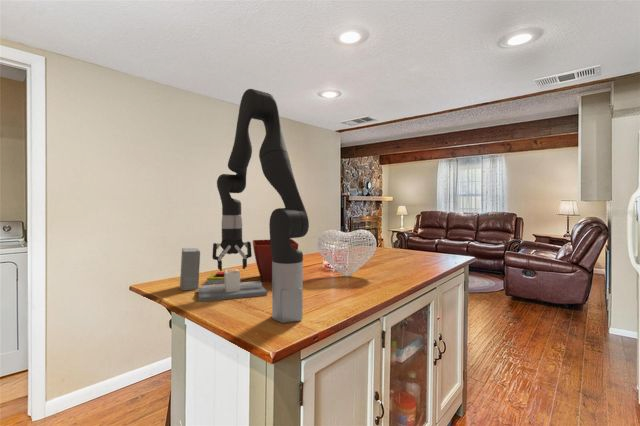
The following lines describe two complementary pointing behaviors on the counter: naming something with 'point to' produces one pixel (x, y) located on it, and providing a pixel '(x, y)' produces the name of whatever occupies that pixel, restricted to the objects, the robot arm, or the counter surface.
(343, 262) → the heart
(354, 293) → the counter surface
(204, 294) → the rail board
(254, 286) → the rail
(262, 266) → the plant pot
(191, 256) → the skincare box
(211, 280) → the emergency button
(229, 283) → the block
